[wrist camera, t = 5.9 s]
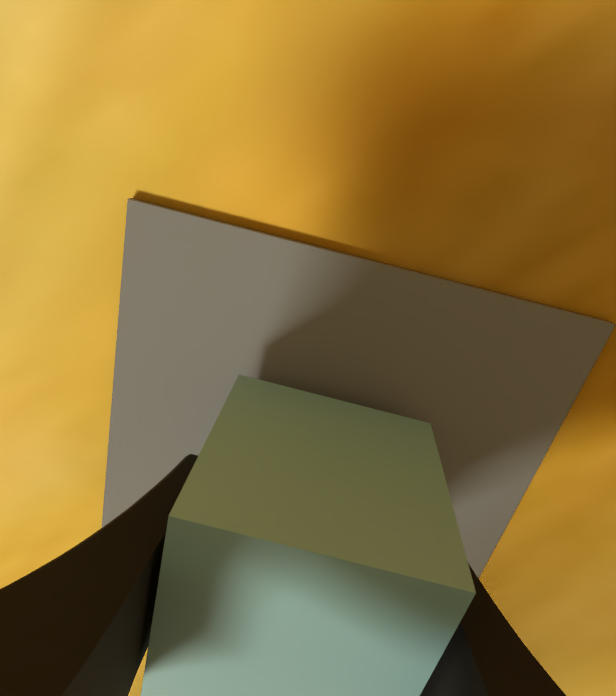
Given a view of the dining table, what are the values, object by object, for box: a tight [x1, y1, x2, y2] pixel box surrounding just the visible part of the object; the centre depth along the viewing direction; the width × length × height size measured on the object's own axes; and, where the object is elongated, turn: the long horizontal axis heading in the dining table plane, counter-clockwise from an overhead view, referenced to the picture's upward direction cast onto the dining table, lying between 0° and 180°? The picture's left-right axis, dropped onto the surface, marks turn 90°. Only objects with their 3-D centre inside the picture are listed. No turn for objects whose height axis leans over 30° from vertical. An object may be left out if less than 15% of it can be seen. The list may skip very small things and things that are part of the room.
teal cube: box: [141, 375, 476, 696], centre depth 11 cm, size 5×5×5 cm
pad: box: [102, 198, 615, 578], centre depth 14 cm, size 12×12×1 cm
